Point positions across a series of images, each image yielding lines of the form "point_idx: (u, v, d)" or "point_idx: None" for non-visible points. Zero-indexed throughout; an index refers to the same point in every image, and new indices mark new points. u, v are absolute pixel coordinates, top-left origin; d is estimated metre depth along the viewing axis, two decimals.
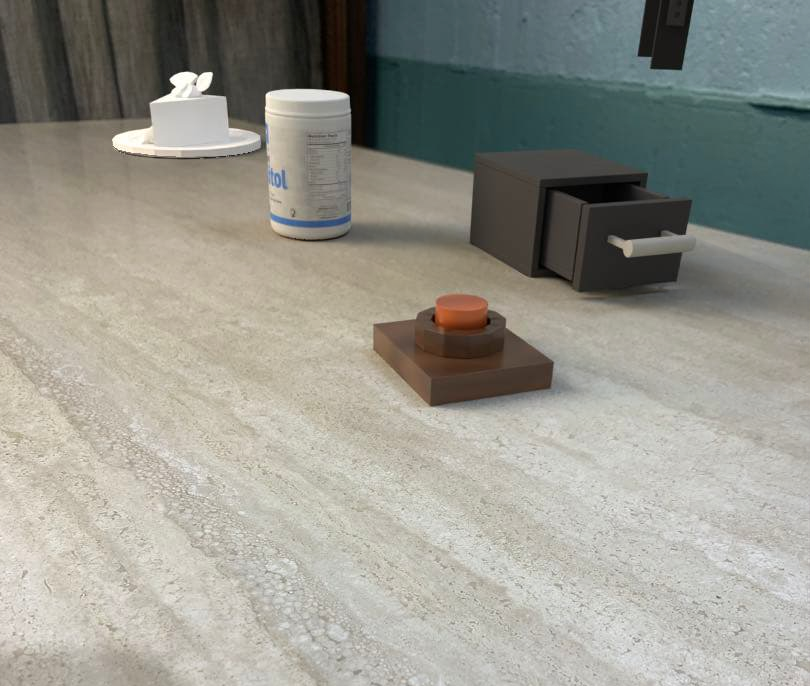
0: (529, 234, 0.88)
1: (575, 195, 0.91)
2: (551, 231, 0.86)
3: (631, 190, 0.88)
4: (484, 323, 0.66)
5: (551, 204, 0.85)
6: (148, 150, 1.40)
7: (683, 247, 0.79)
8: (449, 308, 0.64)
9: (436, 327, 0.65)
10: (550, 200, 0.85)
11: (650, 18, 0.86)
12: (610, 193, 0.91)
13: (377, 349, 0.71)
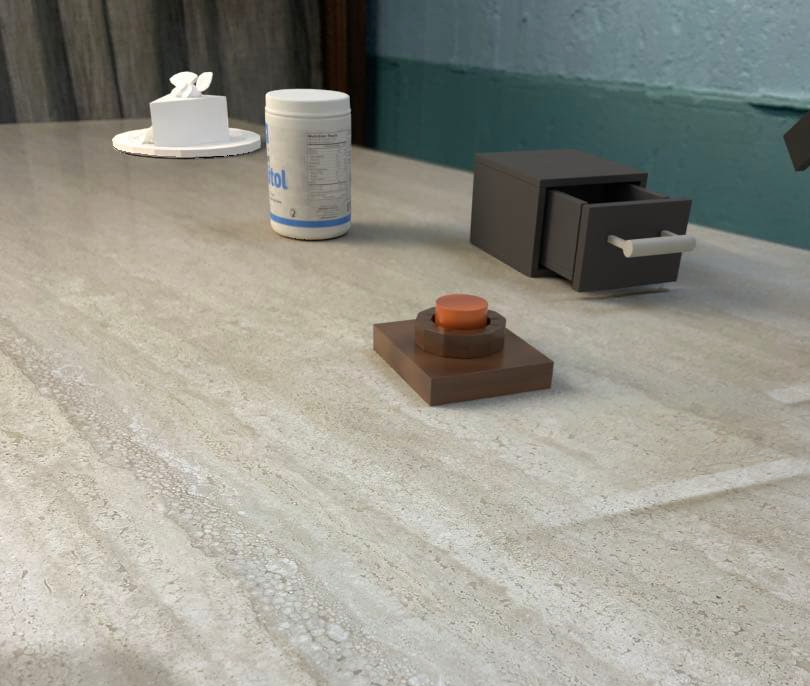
0: (529, 234, 0.88)
1: (575, 195, 0.91)
2: (551, 231, 0.86)
3: (631, 190, 0.88)
4: (484, 323, 0.66)
5: (551, 204, 0.85)
6: (148, 150, 1.40)
7: (683, 247, 0.79)
8: (449, 308, 0.64)
9: (436, 327, 0.65)
10: (550, 200, 0.85)
11: None
12: (610, 193, 0.91)
13: (377, 349, 0.71)
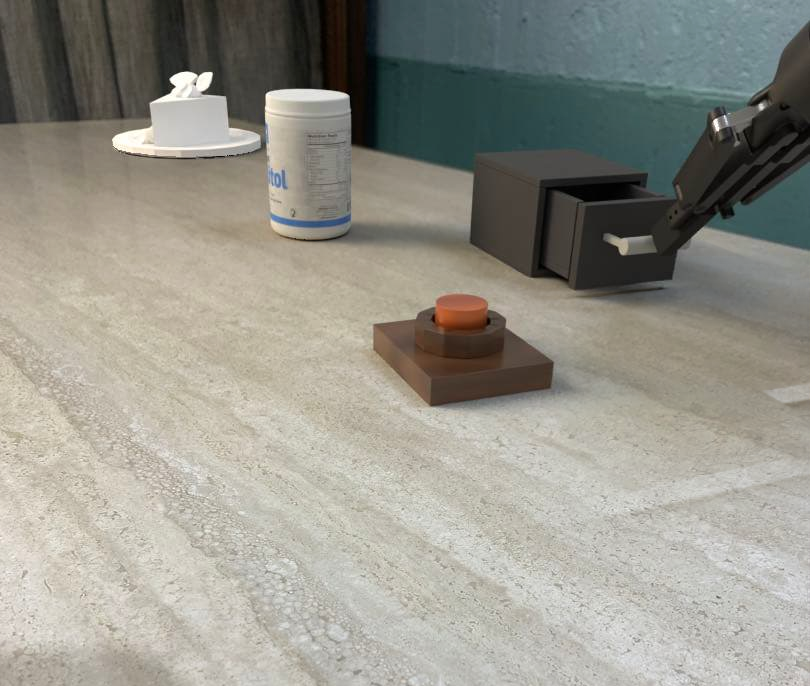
0: (529, 234, 0.88)
1: (571, 194, 0.92)
2: (547, 229, 0.87)
3: (627, 189, 0.88)
4: (484, 323, 0.66)
5: (547, 202, 0.86)
6: (148, 150, 1.40)
7: None
8: (449, 308, 0.64)
9: (436, 327, 0.65)
10: (546, 199, 0.86)
11: None
12: (606, 192, 0.92)
13: (377, 349, 0.71)
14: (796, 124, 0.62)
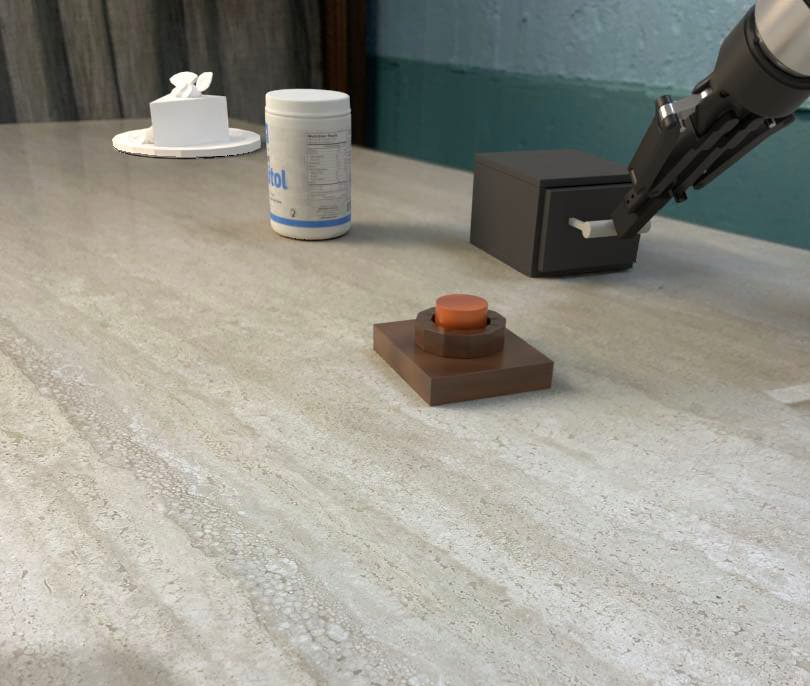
0: (529, 234, 0.88)
1: None
2: None
3: None
4: (484, 323, 0.66)
5: None
6: (148, 150, 1.40)
7: None
8: (449, 308, 0.64)
9: (436, 327, 0.65)
10: None
11: None
12: None
13: (377, 349, 0.71)
14: (737, 111, 0.67)
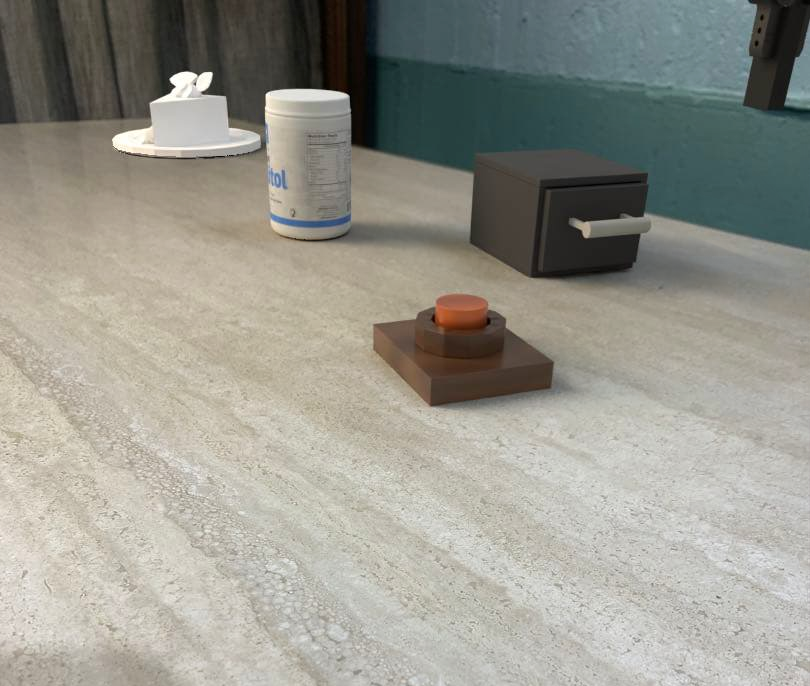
0: (529, 234, 0.88)
1: None
2: None
3: None
4: (484, 323, 0.66)
5: None
6: (148, 150, 1.40)
7: (639, 229, 0.85)
8: (449, 308, 0.64)
9: (436, 327, 0.65)
10: None
11: None
12: None
13: (377, 349, 0.71)
14: None
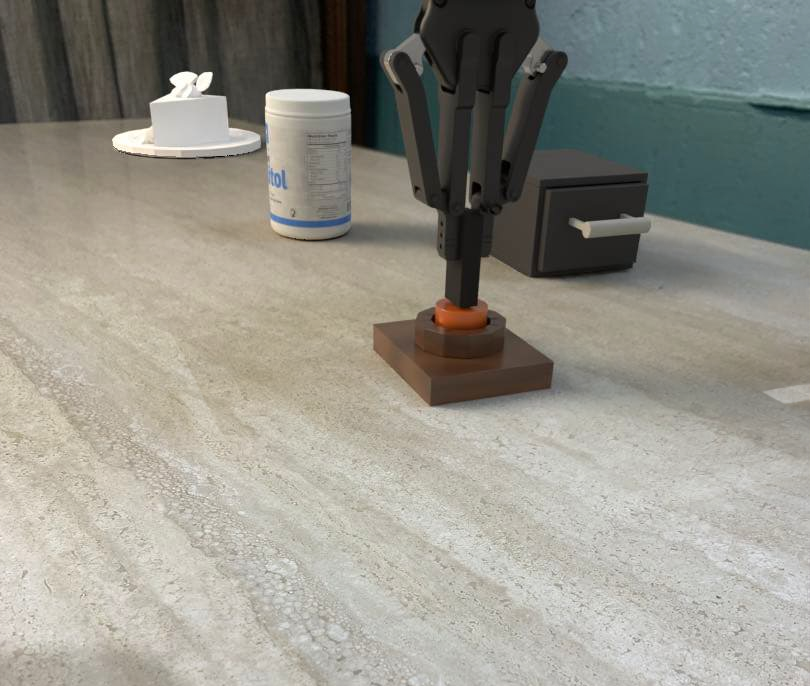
0: (529, 234, 0.88)
1: None
2: None
3: None
4: (484, 325, 0.66)
5: None
6: (148, 150, 1.40)
7: (639, 229, 0.85)
8: (449, 310, 0.65)
9: (436, 327, 0.65)
10: None
11: None
12: None
13: (377, 349, 0.71)
14: None
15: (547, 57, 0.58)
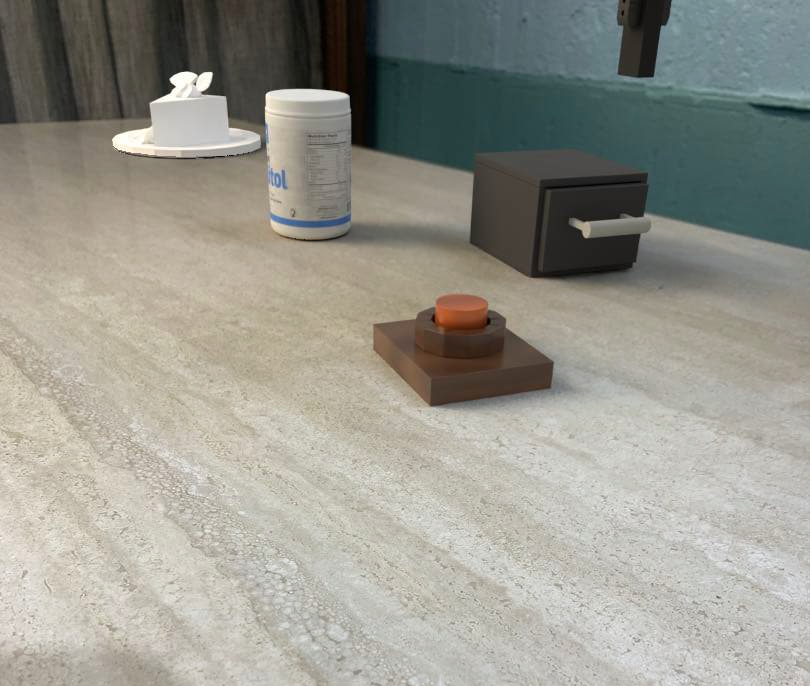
0: (529, 234, 0.88)
1: None
2: None
3: None
4: (484, 323, 0.66)
5: None
6: (148, 150, 1.40)
7: (639, 229, 0.85)
8: (449, 308, 0.64)
9: (436, 327, 0.65)
10: None
11: None
12: None
13: (377, 349, 0.71)
14: None
15: None
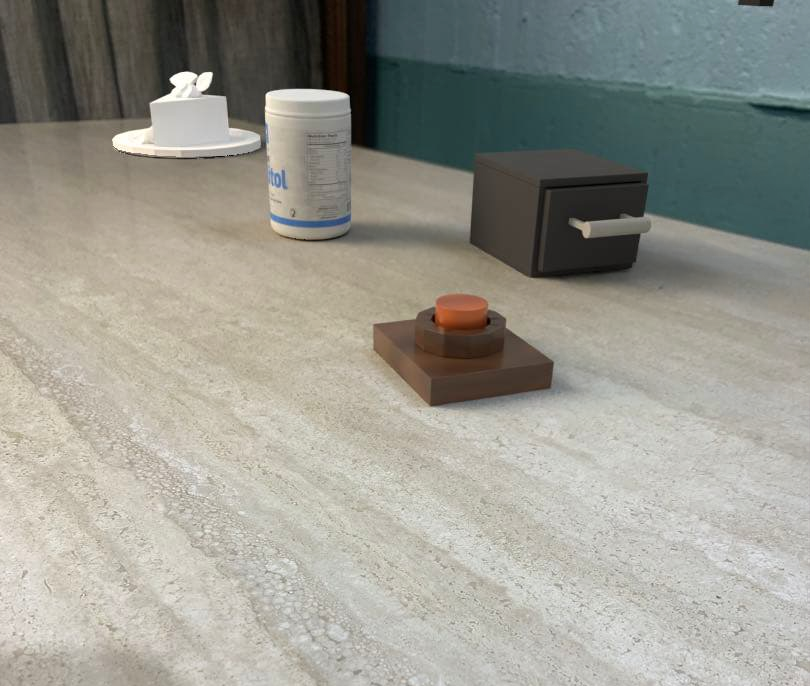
0: (529, 234, 0.88)
1: None
2: None
3: None
4: (484, 323, 0.66)
5: None
6: (148, 150, 1.40)
7: (639, 229, 0.85)
8: (449, 308, 0.64)
9: (436, 327, 0.65)
10: None
11: None
12: None
13: (377, 349, 0.71)
14: None
15: None
